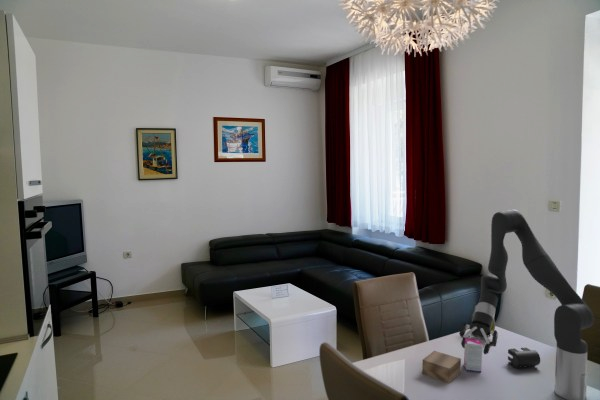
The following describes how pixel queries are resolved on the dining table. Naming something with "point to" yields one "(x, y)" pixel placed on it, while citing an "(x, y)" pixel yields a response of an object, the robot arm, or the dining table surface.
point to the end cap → (523, 358)
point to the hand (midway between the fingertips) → (473, 350)
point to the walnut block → (441, 366)
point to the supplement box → (473, 355)
